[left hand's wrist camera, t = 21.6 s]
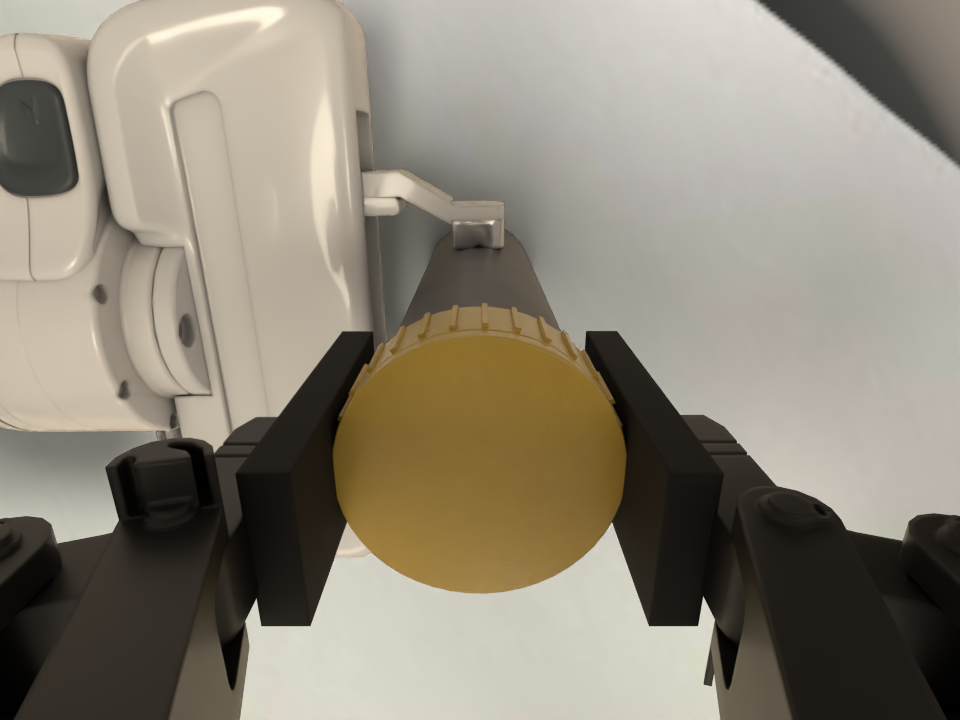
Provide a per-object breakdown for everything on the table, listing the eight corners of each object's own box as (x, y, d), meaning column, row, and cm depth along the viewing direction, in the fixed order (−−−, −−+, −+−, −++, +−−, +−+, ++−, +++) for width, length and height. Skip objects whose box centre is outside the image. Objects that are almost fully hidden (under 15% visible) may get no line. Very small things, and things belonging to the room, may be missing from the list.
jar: (472, 200, 26) (460, 283, 10) (550, 266, 27) (654, 438, 11) (409, 280, 27) (308, 468, 11) (486, 340, 28) (495, 591, 12)
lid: (659, 441, 12) (691, 493, 10) (464, 574, 13) (462, 640, 12) (498, 243, 11) (502, 262, 9) (295, 412, 12) (262, 460, 10)
